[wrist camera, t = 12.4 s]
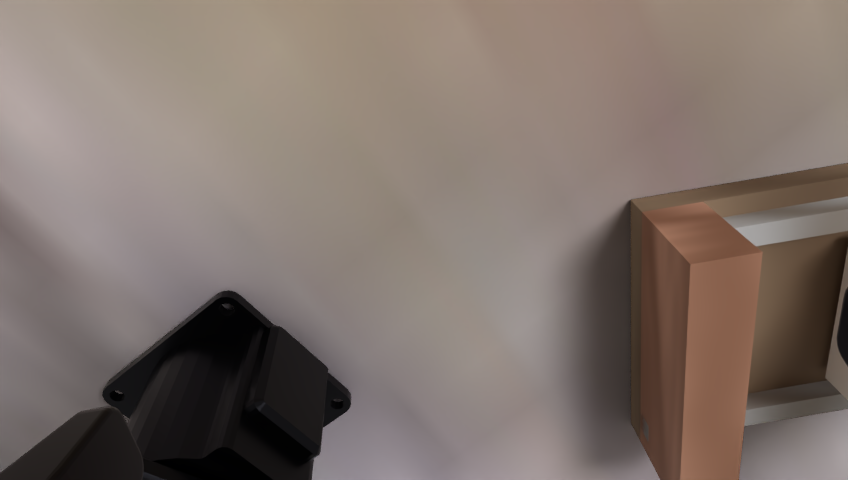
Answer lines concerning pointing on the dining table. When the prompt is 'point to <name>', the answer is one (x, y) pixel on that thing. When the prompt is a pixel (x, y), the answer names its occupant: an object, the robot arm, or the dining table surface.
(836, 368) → the carriage
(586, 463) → the dining table surface
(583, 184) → the dining table surface
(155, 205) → the dining table surface
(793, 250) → the track
